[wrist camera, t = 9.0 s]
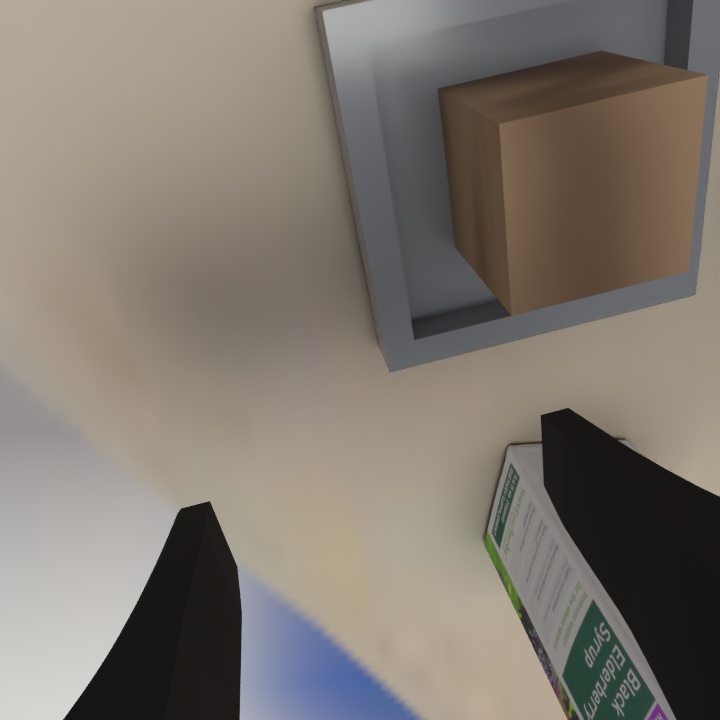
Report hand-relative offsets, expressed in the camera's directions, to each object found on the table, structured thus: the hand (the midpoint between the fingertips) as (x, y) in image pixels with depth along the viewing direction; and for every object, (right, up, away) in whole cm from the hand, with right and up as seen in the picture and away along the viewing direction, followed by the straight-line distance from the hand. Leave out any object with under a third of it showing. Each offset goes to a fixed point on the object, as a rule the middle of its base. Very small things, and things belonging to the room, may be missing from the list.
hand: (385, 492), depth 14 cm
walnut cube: (+5, +9, +6) cm, 12 cm away
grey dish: (+4, +9, +7) cm, 12 cm away
